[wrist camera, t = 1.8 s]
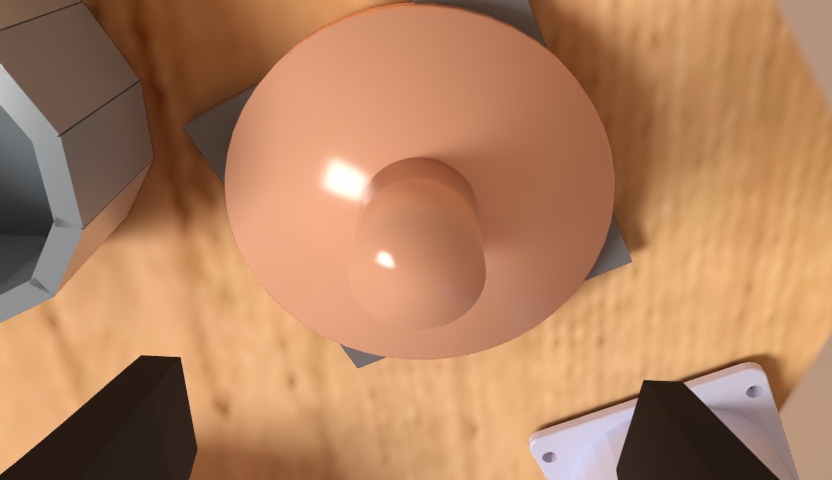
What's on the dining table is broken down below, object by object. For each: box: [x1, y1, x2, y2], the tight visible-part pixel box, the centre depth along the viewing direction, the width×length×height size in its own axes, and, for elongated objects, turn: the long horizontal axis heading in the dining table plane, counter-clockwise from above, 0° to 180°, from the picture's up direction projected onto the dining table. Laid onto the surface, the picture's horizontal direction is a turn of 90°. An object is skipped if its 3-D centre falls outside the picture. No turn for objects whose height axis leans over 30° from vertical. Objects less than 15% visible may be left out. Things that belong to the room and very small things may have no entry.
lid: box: [225, 3, 615, 360], centre depth 15 cm, size 10×10×4 cm
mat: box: [183, 0, 632, 368], centre depth 17 cm, size 9×9×1 cm
